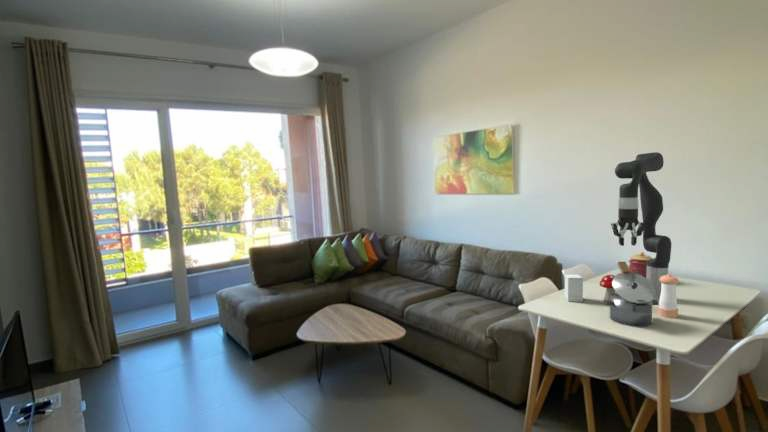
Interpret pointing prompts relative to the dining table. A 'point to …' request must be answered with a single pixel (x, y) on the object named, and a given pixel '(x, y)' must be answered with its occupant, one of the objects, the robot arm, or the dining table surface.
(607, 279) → the decorative mushroom
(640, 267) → the canister
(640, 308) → the cooker pot
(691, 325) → the dining table surface
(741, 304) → the dining table surface
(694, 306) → the dining table surface
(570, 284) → the supplement box
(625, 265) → the cooker lid
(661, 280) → the pepper shaker
